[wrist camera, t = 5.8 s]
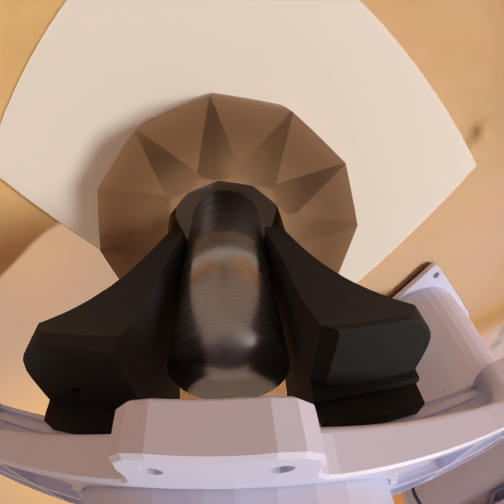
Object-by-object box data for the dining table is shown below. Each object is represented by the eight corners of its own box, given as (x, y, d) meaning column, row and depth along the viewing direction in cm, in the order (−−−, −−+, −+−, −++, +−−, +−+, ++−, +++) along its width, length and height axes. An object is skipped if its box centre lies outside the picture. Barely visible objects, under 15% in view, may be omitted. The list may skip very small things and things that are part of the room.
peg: (272, 217, 14) (314, 362, 7) (229, 260, 15) (236, 411, 8) (221, 177, 13) (217, 309, 6) (179, 226, 14) (145, 374, 7)
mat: (468, 160, 15) (476, 165, 14) (272, 340, 21) (274, 348, 21) (185, -106, 6) (183, -113, 5) (-6, 162, 12) (-14, 166, 12)
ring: (376, 200, 15) (398, 222, 13) (239, 324, 19) (242, 355, 17) (209, 47, 11) (204, 41, 9) (82, 229, 15) (63, 255, 13)
